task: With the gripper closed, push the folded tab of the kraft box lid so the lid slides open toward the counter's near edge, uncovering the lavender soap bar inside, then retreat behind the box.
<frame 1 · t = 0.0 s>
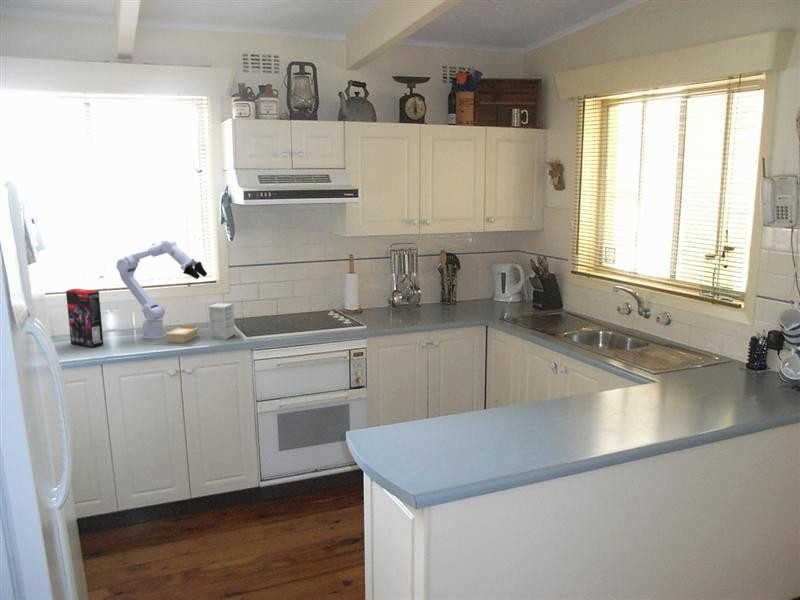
hand: (202, 276, 332), 32 cm above the countertop, tool tilted 50°, fingers open, 7 cm apart
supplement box: (223, 337, 343), on the countertop
graphics card box: (87, 345, 329), on the countertop
kraft box: (182, 339, 336), resting on slate mat
kraft lid: (182, 330, 335), point 5 cm above the countertop, slide at 0.0 cm
slate mat: (182, 340, 335), on the countertop
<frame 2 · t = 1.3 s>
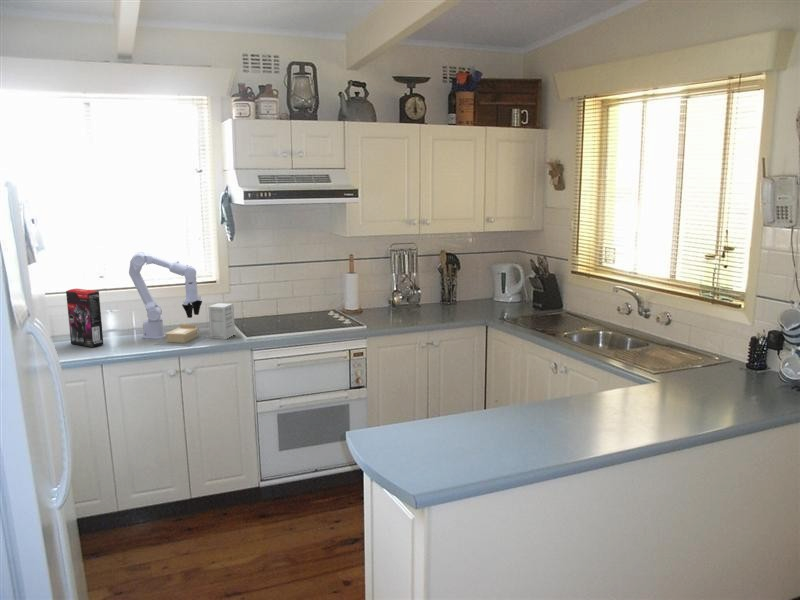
hand: (193, 316, 346), 10 cm above the countertop, tool pointing down, fingers open, 7 cm apart
nothing on the countertop moved.
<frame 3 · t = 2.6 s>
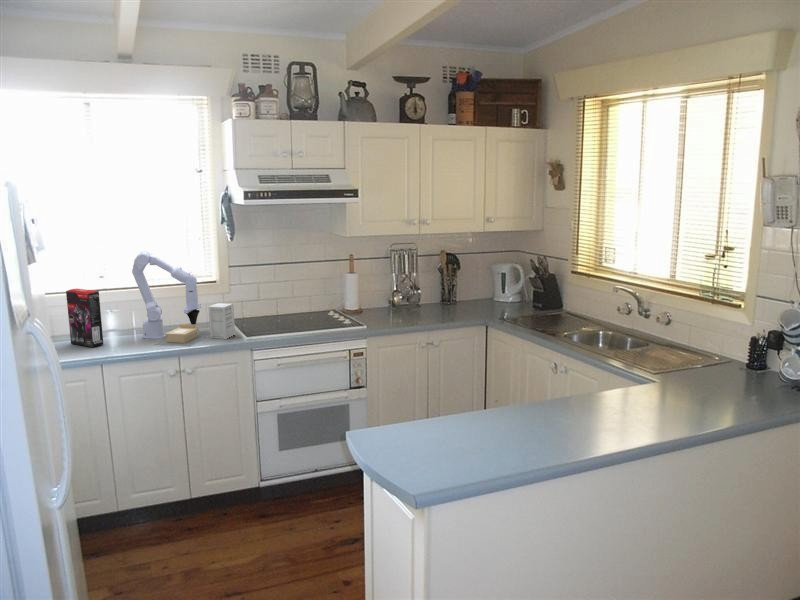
hand: (193, 324, 347), 6 cm above the countertop, tool pointing down, fingers closed
nothing on the countertop moved.
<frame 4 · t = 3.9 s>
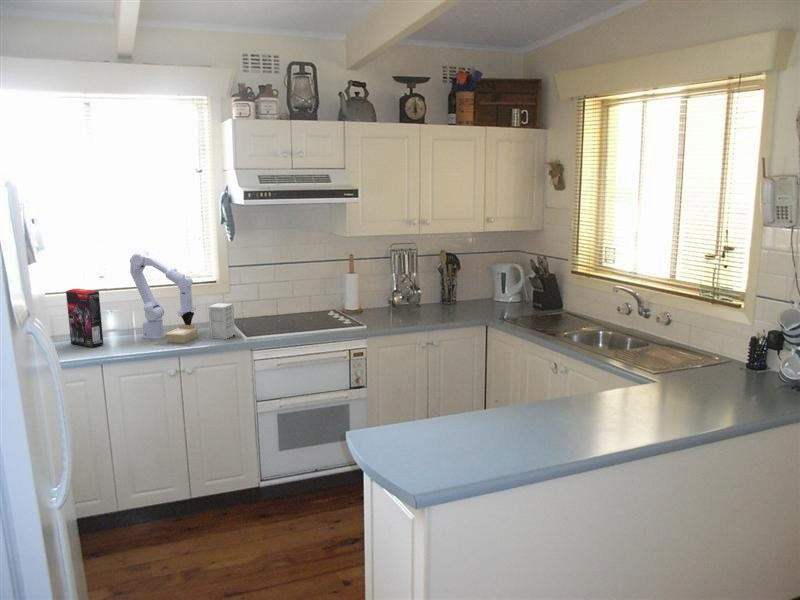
hand: (188, 326, 341), 6 cm above the countertop, tool pointing down, fingers closed
kraft lid: (181, 330, 334), point 5 cm above the countertop, slide at 0.9 cm, touching gripper
everything else where it was.
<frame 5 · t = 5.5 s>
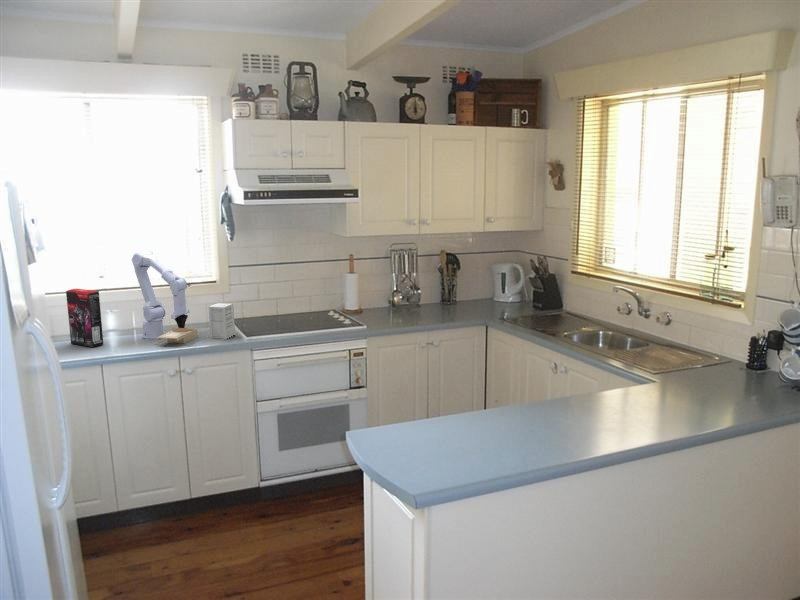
hand: (181, 329, 335), 6 cm above the countertop, tool pointing down, fingers closed
kraft lid: (174, 333, 328), point 5 cm above the countertop, slide at 7.5 cm, touching gripper
everything else where it was.
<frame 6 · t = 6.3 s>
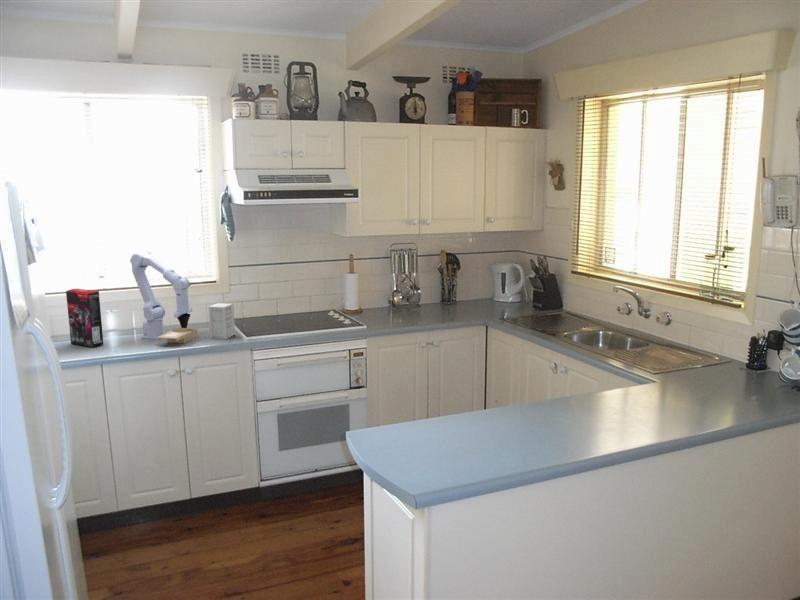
hand: (184, 328, 337), 6 cm above the countertop, tool pointing down, fingers closed
kraft lid: (174, 333, 328), point 5 cm above the countertop, slide at 7.5 cm
everything else where it was.
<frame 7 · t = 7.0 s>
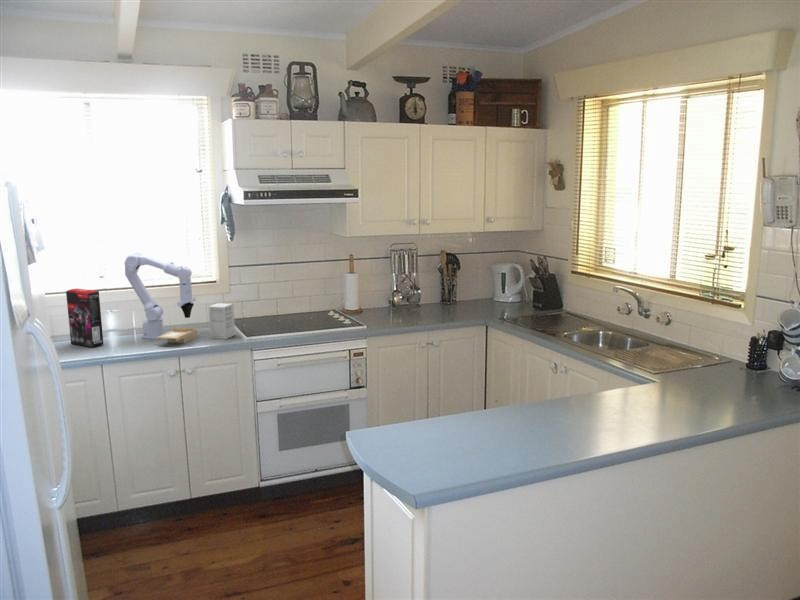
hand: (187, 317, 343), 10 cm above the countertop, tool pointing down, fingers closed
nothing on the countertop moved.
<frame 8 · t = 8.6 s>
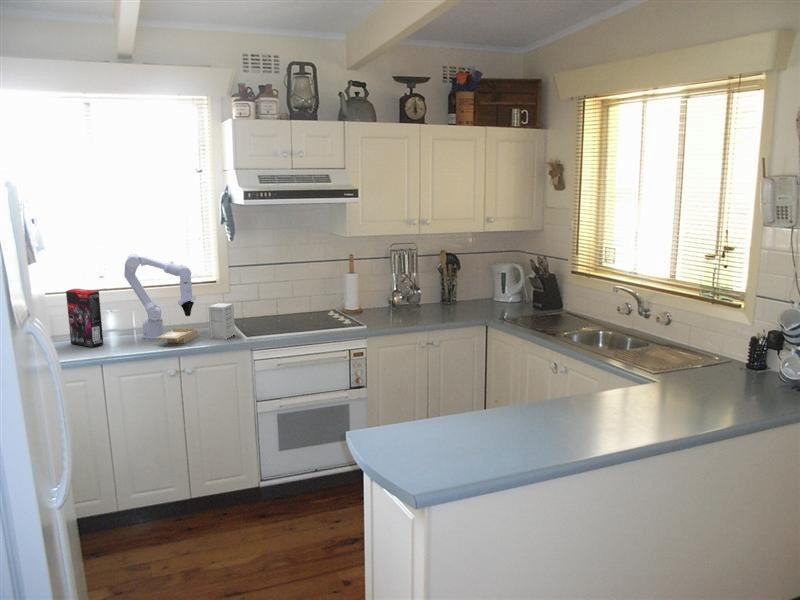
hand: (187, 315, 346), 10 cm above the countertop, tool pointing down, fingers closed
nothing on the countertop moved.
at the end: kraft lid slide at 7.5 cm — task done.
